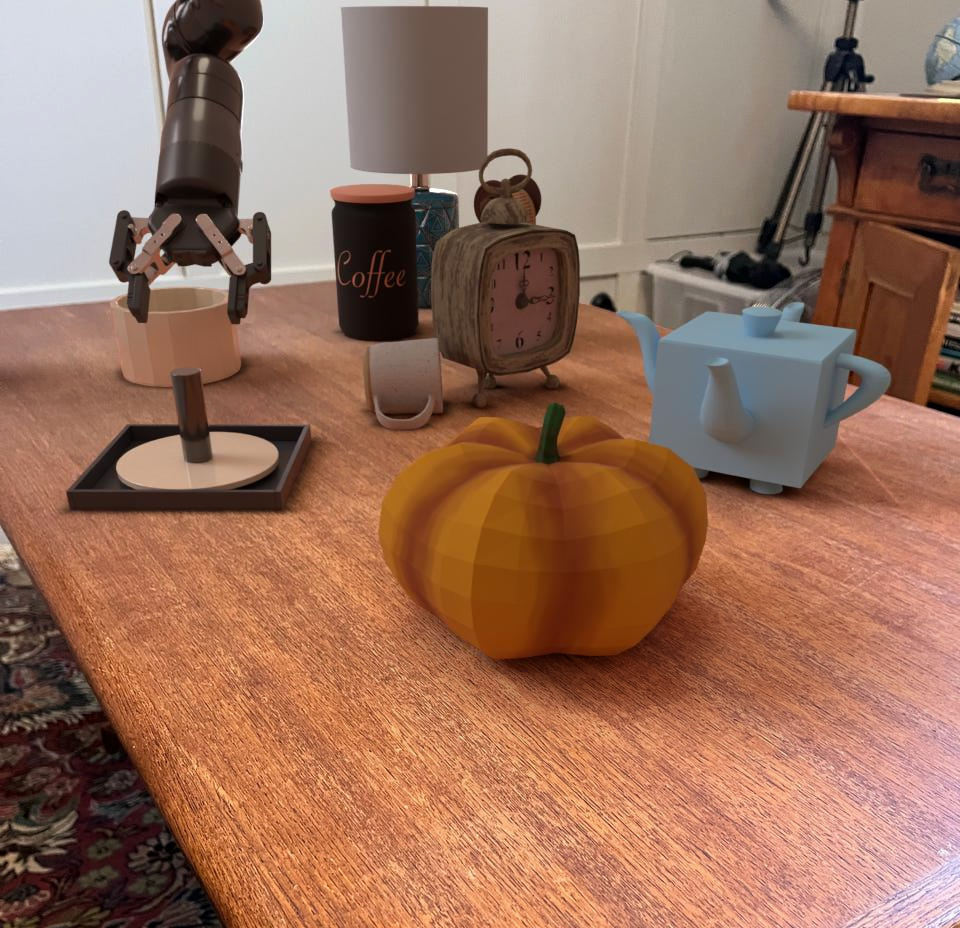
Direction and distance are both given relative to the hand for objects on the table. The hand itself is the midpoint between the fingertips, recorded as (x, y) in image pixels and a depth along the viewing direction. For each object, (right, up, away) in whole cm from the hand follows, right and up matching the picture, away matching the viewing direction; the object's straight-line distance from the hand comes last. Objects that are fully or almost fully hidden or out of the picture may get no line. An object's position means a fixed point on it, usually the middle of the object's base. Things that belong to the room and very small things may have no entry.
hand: (186, 319), depth 92 cm
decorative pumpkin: (+31, -28, -21) cm, 46 cm away
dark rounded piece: (+30, +10, +41) cm, 52 cm away
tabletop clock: (+29, -1, +23) cm, 37 cm away
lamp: (+18, +21, +61) cm, 67 cm away
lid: (+1, -13, +1) cm, 13 cm away
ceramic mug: (+19, -5, +16) cm, 25 cm away
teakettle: (+50, -13, +3) cm, 52 cm away
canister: (-9, +3, +30) cm, 31 cm away
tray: (+1, -14, +1) cm, 14 cm away
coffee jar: (+13, +12, +45) cm, 49 cm away
